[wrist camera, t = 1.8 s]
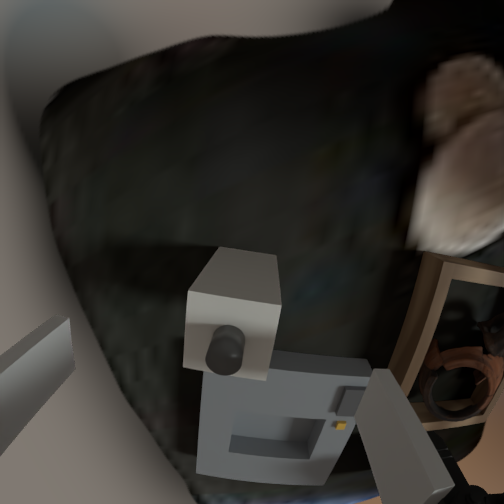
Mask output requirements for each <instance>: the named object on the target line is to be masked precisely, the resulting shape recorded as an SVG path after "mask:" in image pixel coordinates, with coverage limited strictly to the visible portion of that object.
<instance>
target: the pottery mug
mask: <svg viewBox="0 0 504 504" xmlns="http://www.w3.org/2000/svg"><path fill="white" fill-rule="evenodd" d="M477 326H478V327H479V328H480V329H481V331H482V333H483V340H484V344H485V348H486V349H487V351H488V353H487V355H486V354H483V353H482V347H481V346H478V347H477V346H473V347H468V346H466V347H461V348H453V349H449V350H446V351H443V352H441V353H440V350H439V348H438V340H437V339H433V340H432V341H431V342H430V345H429V348H428V350H427V353H426V355H425V358H424V360H423V363H422V365H421V367H420V370H419V388H420V392H421V394H422V395H423V400H424V403H425V406H426V408H427V410H428V411H429V412H430V413H431V414H432V415H433V416H435V417H436V418H438V419H440V420H443V421H450V422H457V421H464V420H467V419H469V418H472V417H474V416H475V415H477V414H478V413H480V412H481V410H483V409H484V408H485V407H486V406H487V405H488V404H489V402H490V401H491V399H492V397H493V394H494V393H495V390H496V389H497V387H498V385H499V383H500V381H501V379H502V375H503V371H504V359H503V357H504V312H503V313H500V314H498V315H497V316H495V317H494V318H492V319H491V320H489V321H483V322H478V324H477ZM442 365H443V366H444V368H445V369H446V370H451V369H454V368H458V367H471V368H475V369H476V370H474V371H473V375H474V378H475V385H478V384H479V383H481V382H482V381H483V380H485V379H486V378H487V381H488V389H487V392H486V394H485V395H484V397H483V398H482V399H481V400H480V401H479V402H478V403H477V404H475V405H473V406H472V405H469V406H467V407H465V408H463V409H460V410H457V411H451V410H446V409H444V408H443V407H442V406H438V405H437V404H436V403H435V402H434V400H433V398H432V387H433V385H434V383H435V381H436V380H437V378H438V375H437V372H436V370H437V369H438V368H439V367H440V366H442Z"/></svg>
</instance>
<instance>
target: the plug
mask: <svg viewBox="0 0 504 504" xmlns="http://www.w3.org/2000/svg"><path fill="white" fill-rule="evenodd" d="M281 306H282V304H281V295H280V285H279V276H278V267H277V258H276V255H271V254H265V253H258V252H252V251H245V250H239V249H232V248H226V247H219V248H218V249H217V251H216V252H215V253H214V255H213V256H212V258H211V259H210V260H209V262H208V263H207V265H206V266H205V267H204V269H203V270H202V272H201V273H200V274H199V276H198V277H197V279H196V280H195V281H194V283H193V284H192V286H191V287H190V288H189V290H188V297H187V310H186V324H185V339H184V356H183V367H185V368H190V369H195V370H200V371H206V372H211V373H216V374H218V375H223V376H235V377H241V378H248V379H255V380H262V381H266V379H267V374H268V369H269V365H270V360H271V355H272V351H273V346H274V341H275V336H276V331H277V326H278V321H279V316H280V311H281Z"/></svg>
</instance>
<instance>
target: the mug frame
mask: <svg viewBox="0 0 504 504" xmlns="http://www.w3.org/2000/svg"><path fill="white" fill-rule="evenodd" d="M451 279H456V280H463V281H469V282H475V283H481V284H487V285H493V286H499V287H504V268H503V267H499V266H494V265H489V264H485V263H480V262H475V261H471V260H466V259H461V258H456V257H451V256H446V255H441V254H436V253H431V252H426V251H424V252H423V256H422V260H421V264H420V268H419V272H418V276H417V280H416V283H415V287H414V290H413V294H412V297H411V301H410V304H409V307H408V311H407V314H406V317H405V320H404V323H403V326H402V329H401V332H400V335H399V338H398V341H397V344H396V346H395V349H394V352H393V355H392V357H391V360H390V362H389V365H388V368H387V369H390V371H391V373H392V374H393V376H394V378H395V379H396V381H397V383H398V384H399V386H400V388H401V389H402V391H403V393H404V394H405V396H406V398H407V396H408V394H409V392H410V390H411V388H412V385H413V383H414V381H415V379H416V377H417V374H418V372H419V370H420V367H421V365H422V363H423V360H424V358H425V355H426V353H427V350H428V348H429V345H430V342H431V340H432V337H433V334H434V332H435V329H436V326H437V323H438V320H439V318H440V315H441V312H442V308H443V305H444V302H445V299H446V296H447V292H448V289H449V286H450V282H451ZM503 359H504V357H503ZM487 389H488V381H487V378H486V379H485V380H483V381H482V382H481V383H479V384H478V385H477V386H476V388H475V390H474V392H473V394H472V396H471V398H469V399H459V400H448V401H435V403H436V404H437V405H438V406H442V407H443V408H444V409H446V410H451V411H457V410H460V409H463V408H465V407H467V406H469V405H472V406H473V405H475V404H477V403H478V402H479V401H480V400H481V399H482V398H483V397H484V395H485V394H486V392H487ZM503 389H504V371H503V375H502V379H501V381H500V383H499V385H498V387H497V389H496V390H495V393H494V394H493V397H492V399H491V401H490V402H489V404H488V405H487V406H486V407H485V408H484V409H483V410H481V412H480V413H478V414H477V415H475V416H474V417H472V418H469V419H467V420H464V421H457V422H450V421H443V420H440V419H438V418H436V417H435V416H433V415H432V414H431V413H430V412H429V411H428V410H427V408H426V406H425V403H424V402H417V403H410V404H411V406H412V408H413V410H414V411H415V413H416V415H417V416H418V418H419V420H420V422H421V423H422V425H423V427H424V429H425V430H426V431H429V430H438V429H446V428H453V427H459V426H465V425H471V424H476V423H481V422H485V421H486V419H487V417H488V416H489V414H490V412H491V411H492V409H493V407H494V406H495V404H496V402H497V400H498V398H499V397H500V395H501V393H502V391H503Z"/></svg>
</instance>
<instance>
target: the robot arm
mask: <svg viewBox="0 0 504 504" xmlns="http://www.w3.org/2000/svg"><path fill="white" fill-rule="evenodd" d="M75 369H76V367H75V361H74V354H73V348H72V339H71V332H70V321H69V318H67V317H63V316H60V315H57V314H56V315H54V316H53V317H51V318H50V319H49V320H47V321H46V322H45V323H43V324H42V325H40V326H39V327H38V328H36V329H35V330H34V331H32V332H31V333H30V334H28V335H27V336H26V337H24V338H23V339H22V340H20V341H19V342H18V343H16V344H15V345H14V346H12V347H11V348H10V349H9V350H7V351H6V352H5V353H3V354H2V355H1V356H0V456H1V455H2V454H3V452H4V451H5V450H6V449H7V447H8V446H9V445H10V444H11V443H12V441H13V440H14V439H15V438H16V437H17V435H18V434H19V433H20V432H21V431H22V429H23V428H24V427H25V426H26V425H27V424H28V422H29V421H30V420H31V419H32V418H33V417H34V415H35V414H36V413H37V412H38V411H39V409H40V408H41V407H42V406H43V405H44V404H45V403H46V401H47V400H48V399H49V398H50V397H51V396H52V395H53V394H54V392H55V391H56V390H57V389H58V388H59V387H60V386H61V384H63V382H64V381H65V380H66V379H67V378H68V377H69V376H70V375H71V373H72V372H73V371H74V370H75ZM354 418H355V421H356V424H357V427H358V430H359V433H360V436H361V439H362V441H363V444H364V448H365V451H366V454H367V457H368V460H369V463H370V466H371V469H372V472H373V475H374V478H375V482H376V485H377V488H378V491H379V494H380V498H381V501H382V504H504V493H502V494H487V492H486V491H485V490H484V489H483V488H481V487H479V486H476V485H469V484H468V482H467V481H466V479H465V477H464V475H463V473H462V472H461V470H460V468H459V466H458V465H457V463H456V461H455V459H454V458H452V454H451V452H450V451H449V450H448V447H447V446H446V444H445V442H444V440H443V439H442V438H441V437H440V436H439V435H438V434H436V433H435V432H434V431H427V432H426V430H425V429H424V427H423V425H422V423H421V422H420V420H419V418H418V416H417V415H416V413H415V411H414V410H413V408H412V406H411V404H410V403H409V401H408V399H407V398H406V396H405V394H404V393H403V391H402V389H401V388H400V386H399V384H398V383H397V381H396V379H395V378H394V376H393V374H392V373H391V371H390V369H373V372H372V374H371V377H370V380H369V382H368V385H367V387H366V390H365V392H364V395H363V397H362V399H361V402H360V404H359V406H358V409H357V411H356V413H355V416H354Z"/></svg>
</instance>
